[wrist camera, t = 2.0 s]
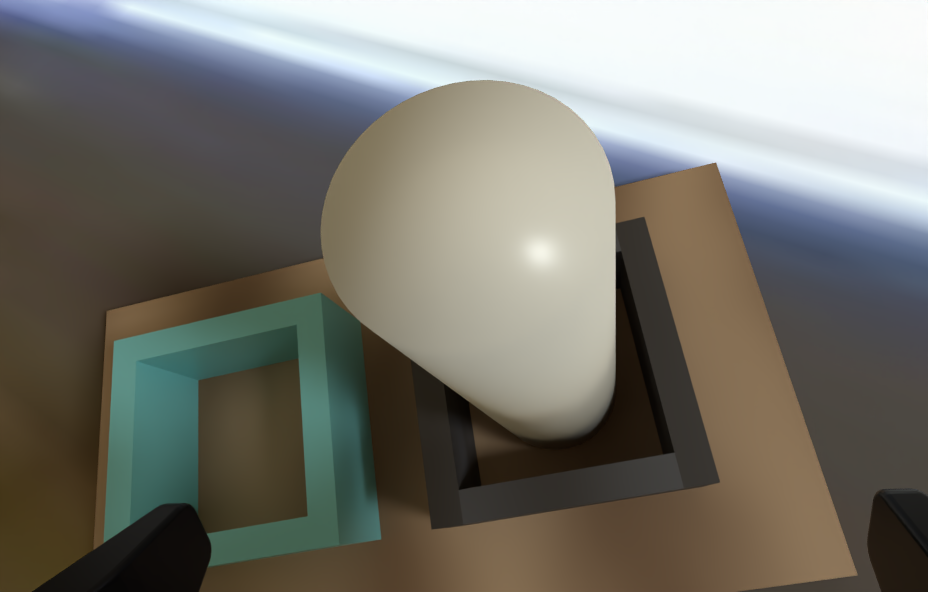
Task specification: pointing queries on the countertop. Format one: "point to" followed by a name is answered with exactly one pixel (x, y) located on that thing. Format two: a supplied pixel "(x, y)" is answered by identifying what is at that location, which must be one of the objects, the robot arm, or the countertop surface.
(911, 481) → the countertop surface
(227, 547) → the port
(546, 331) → the plug
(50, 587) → the robot arm
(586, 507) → the panel board
